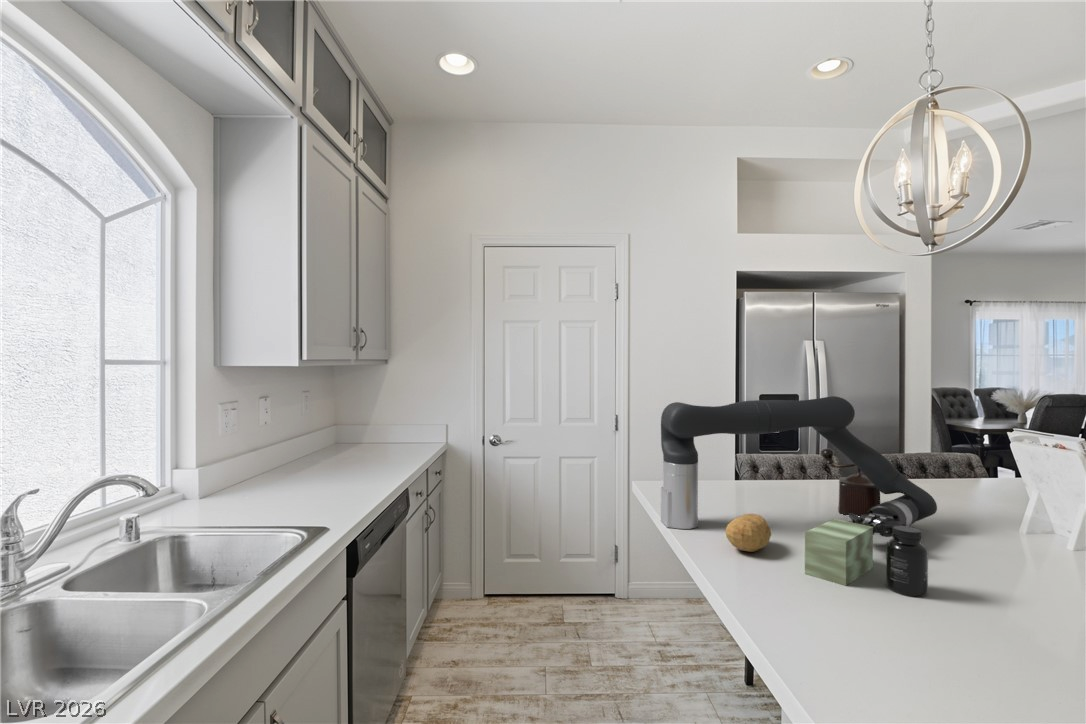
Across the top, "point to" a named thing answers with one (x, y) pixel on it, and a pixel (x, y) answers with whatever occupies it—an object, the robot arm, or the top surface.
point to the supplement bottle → (907, 562)
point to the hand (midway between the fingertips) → (861, 531)
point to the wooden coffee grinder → (853, 489)
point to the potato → (748, 532)
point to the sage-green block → (838, 551)
